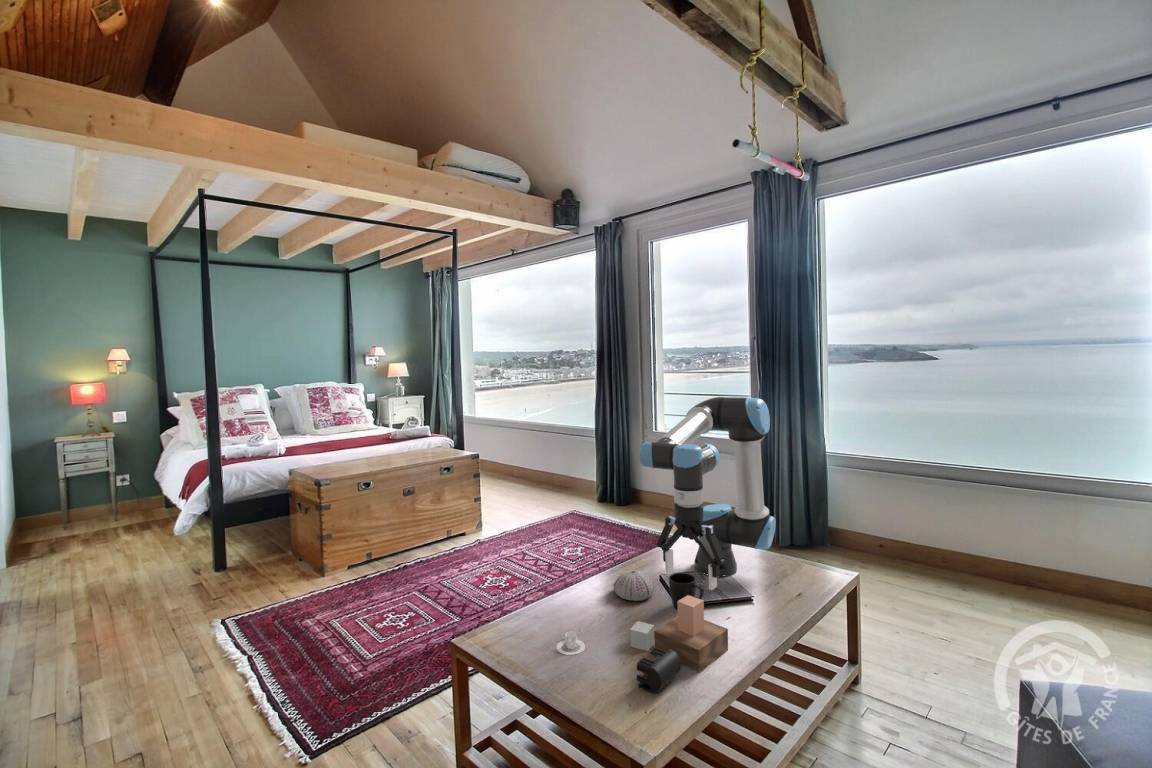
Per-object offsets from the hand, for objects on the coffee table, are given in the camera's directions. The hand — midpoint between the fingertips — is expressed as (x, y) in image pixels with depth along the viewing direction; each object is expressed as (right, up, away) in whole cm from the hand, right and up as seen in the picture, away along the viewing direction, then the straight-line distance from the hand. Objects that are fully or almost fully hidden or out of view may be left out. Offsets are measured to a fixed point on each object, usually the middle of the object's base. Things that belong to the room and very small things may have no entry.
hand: (690, 580), depth 148 cm
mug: (+4, -18, +24) cm, 31 cm away
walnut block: (0, -19, +1) cm, 20 cm away
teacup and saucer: (-29, -21, +7) cm, 37 cm away
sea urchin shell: (-11, -18, +36) cm, 42 cm away
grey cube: (-12, -20, +5) cm, 24 cm away
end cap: (-10, -21, -12) cm, 26 cm away
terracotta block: (0, -13, +1) cm, 14 cm away
